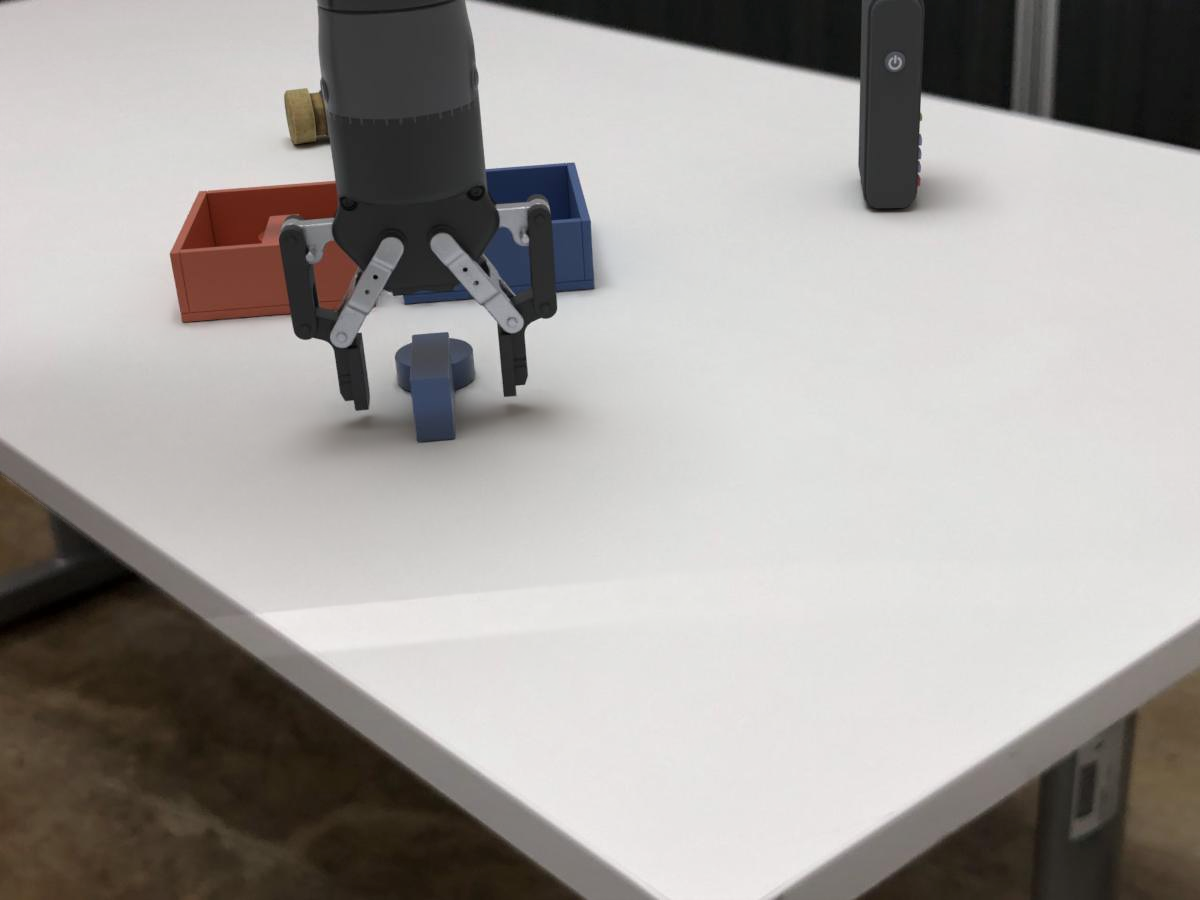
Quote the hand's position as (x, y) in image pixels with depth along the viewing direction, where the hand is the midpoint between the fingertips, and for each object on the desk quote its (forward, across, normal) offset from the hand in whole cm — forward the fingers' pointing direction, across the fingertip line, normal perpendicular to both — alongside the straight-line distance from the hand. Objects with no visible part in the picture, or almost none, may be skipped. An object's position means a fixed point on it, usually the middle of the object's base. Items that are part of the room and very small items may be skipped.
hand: (436, 397), depth 84 cm
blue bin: (+1, -4, -24) cm, 24 cm away
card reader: (+1, -33, -32) cm, 46 cm away
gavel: (+1, +6, -52) cm, 52 cm away
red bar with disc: (0, +10, -24) cm, 26 cm away
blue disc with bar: (+1, 0, -2) cm, 2 cm away
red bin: (+1, +10, -24) cm, 26 cm away
